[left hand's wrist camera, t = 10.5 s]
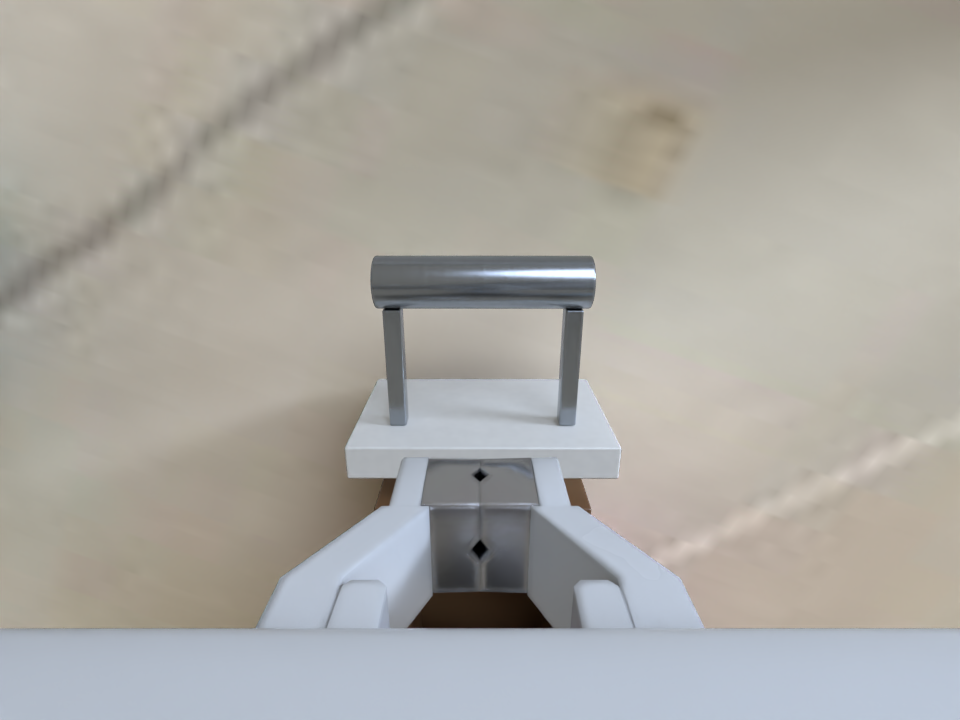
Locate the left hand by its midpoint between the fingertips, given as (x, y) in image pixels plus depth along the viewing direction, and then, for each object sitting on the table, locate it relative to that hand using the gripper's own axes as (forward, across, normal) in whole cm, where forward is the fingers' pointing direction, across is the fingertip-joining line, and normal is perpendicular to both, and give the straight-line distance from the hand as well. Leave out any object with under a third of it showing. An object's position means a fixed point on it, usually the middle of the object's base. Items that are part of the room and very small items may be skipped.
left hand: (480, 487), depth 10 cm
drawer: (+12, 0, -7) cm, 14 cm away
